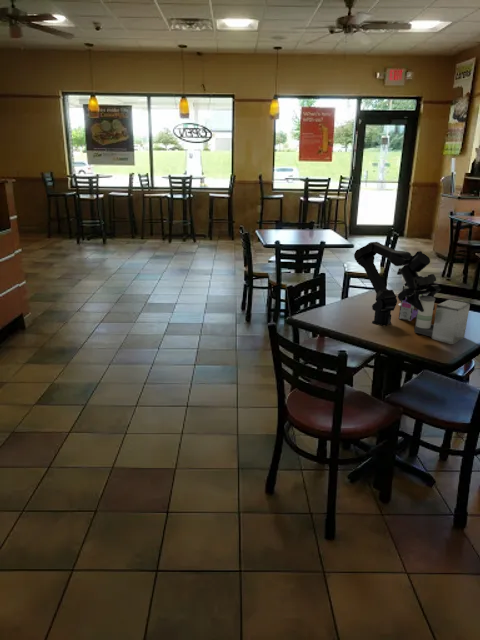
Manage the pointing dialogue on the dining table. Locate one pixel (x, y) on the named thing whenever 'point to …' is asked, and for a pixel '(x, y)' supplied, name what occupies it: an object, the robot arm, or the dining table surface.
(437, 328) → the caddy
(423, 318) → the cup
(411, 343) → the dining table surface
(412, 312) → the candy box
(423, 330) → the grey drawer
